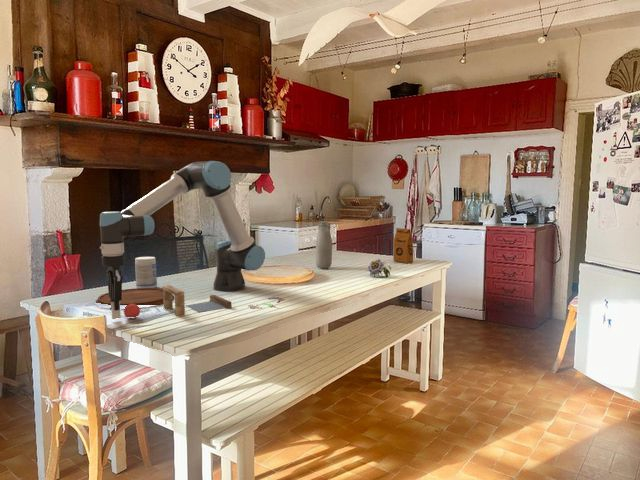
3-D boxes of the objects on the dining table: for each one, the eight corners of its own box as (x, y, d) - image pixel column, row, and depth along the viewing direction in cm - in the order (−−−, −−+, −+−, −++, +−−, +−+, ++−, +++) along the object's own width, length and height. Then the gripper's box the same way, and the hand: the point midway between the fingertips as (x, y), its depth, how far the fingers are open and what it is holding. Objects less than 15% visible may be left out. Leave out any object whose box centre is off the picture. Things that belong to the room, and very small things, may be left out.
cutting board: (181, 304, 205) (181, 298, 204) (99, 314, 189) (98, 308, 189) (165, 290, 232) (165, 285, 232) (91, 297, 216) (91, 292, 216)
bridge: (170, 307, 198) (170, 285, 197) (184, 315, 186) (184, 291, 185) (163, 308, 196) (162, 286, 195) (177, 316, 185) (176, 292, 184)
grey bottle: (315, 270, 285) (316, 222, 281) (315, 267, 295) (315, 221, 291) (332, 270, 285) (333, 222, 282) (331, 267, 295) (332, 221, 292)
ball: (137, 315, 185) (137, 301, 185) (142, 319, 181) (141, 304, 180) (122, 318, 182) (121, 303, 181) (126, 321, 178) (126, 306, 177)
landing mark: (214, 301, 209) (214, 300, 209) (228, 307, 199) (228, 306, 199) (185, 305, 201) (185, 305, 201) (198, 312, 191) (198, 311, 191)
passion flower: (373, 287, 264) (361, 268, 265) (382, 280, 273) (370, 262, 274) (388, 277, 257) (375, 259, 259) (397, 271, 266) (384, 253, 267)
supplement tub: (158, 288, 233) (157, 258, 231) (137, 290, 229) (136, 259, 227) (155, 285, 241) (154, 255, 240) (135, 286, 237) (134, 257, 236)
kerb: (214, 300, 210) (214, 294, 210) (231, 307, 198) (231, 301, 197) (210, 301, 209) (209, 295, 209) (227, 308, 196) (226, 302, 196)
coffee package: (405, 264, 306) (406, 229, 304) (391, 261, 316) (391, 228, 313) (415, 262, 313) (416, 228, 310) (401, 260, 322) (401, 227, 320)
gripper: (97, 253, 178) (101, 316, 181) (106, 257, 168) (110, 324, 171) (118, 251, 183) (121, 312, 186) (129, 255, 172) (132, 320, 175)
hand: (116, 318), depth 178 cm, fingers closed
